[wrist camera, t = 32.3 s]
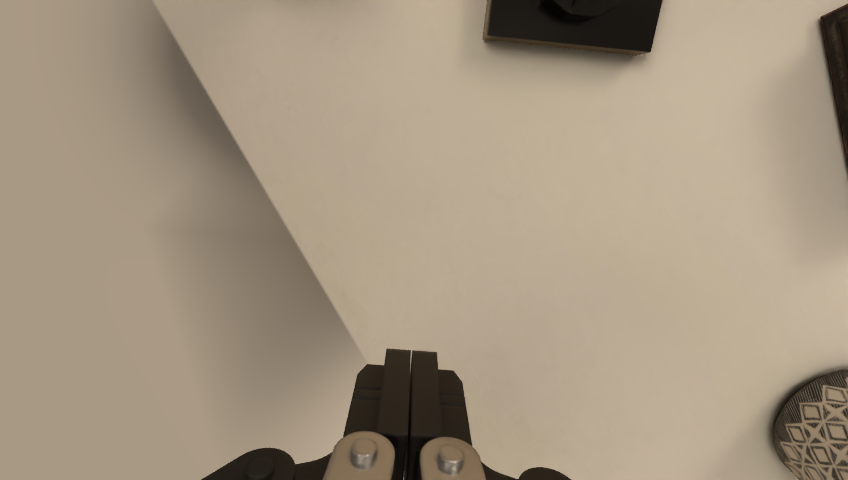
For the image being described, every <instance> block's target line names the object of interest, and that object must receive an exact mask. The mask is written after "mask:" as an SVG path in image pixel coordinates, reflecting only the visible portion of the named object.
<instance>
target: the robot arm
mask: <svg viewBox="0 0 848 480" xmlns="http://www.w3.org/2000/svg"><path fill="white" fill-rule="evenodd" d="M410 355H411V350H400V349H387V350H386V357H385V364H384V365H371V364H367V365H366V366H365V367H364V368H363V369H362V370H361V371H360V372H359V373H358V375H357V379H356V383H355V389H354V392H353V397H352V401H351V405H350V409H349V414H348V418H347V422H346V427H345V431H344V435H343V438H342V439H341V440H339V441H338V443H337V444H336V445H335V447H334V449H333V452H332V453H330V454H329V455H327V456H325V457H323V458H321V459H318V460H315V461H311V462H306V463H301V464H295V463H294V460H293V459H292V457H291V456H290V455H289V454H287V453H286V452H284V451H282V450H279V449H275V448H261V449H256V450H253V451H250V452H247V453H245V454H243V455H242V456H240V457H238V458H237V459H235V460H233V461H232V462H230V463H228V464H227V465H225V466H223V467H222V468H220V469H218V470H217V471H215V472H213V473H212V474H210V475H208V476H207V477H205V478H203V479H202V480H403V477H404V480H571V479H570V478H568V477H567V476H565V475H564V474H562V473H560V472H558V471H555V470H553V469H549V468H543V467H536V468H531V469H528V470H526V471H524V472H523V473H522V474H521V475H520V477H519V479H515V478H512V477H509V476H506V475H503V474H500V473H498V472H496V471H494V470H492V469H490V468H489V467H487V466H486V465H485V464H483V463H482V462H481V459H480V456H479V454H478V453H477V451H476V450H475V449H474V448H473V447H472V442H471V435H470V429H469V423H468V416H467V410H466V404H465V397H464V391H463V384H462V381H461V380H460V379H459V377H458V376H457V375H456V373H455V372H454V371H451V370H438V362H437V352H427V351H414V350H413V351H412V360H411V370H410Z"/></svg>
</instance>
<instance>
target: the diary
mask: <svg viewBox="0 0 848 480" xmlns="http://www.w3.org/2000/svg"><path fill="white" fill-rule="evenodd" d="M820 18H821V23H822V29H823V34H824V39H825V44H826V50H827V55H828V60H829V65H830V70H831V76H832V81H833V86H834V91H835V97H836V102H837V107H838V112H839V118H840V123H841V128H842V133H843V138H844V144H845V149H846V154H847V159H848V4H846V5H844V6H842V7H840V8H838V9H836V10H834V11H832V12H830V13H828V14H826V15H823V16H821V17H820Z"/></svg>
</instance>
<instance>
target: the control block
mask: <svg viewBox="0 0 848 480" xmlns="http://www.w3.org/2000/svg"><path fill="white" fill-rule="evenodd" d="M661 4H662V0H487V6H486V15H485V23H484V31H483V40H491V41H501V42H511V43H520V44H530V45H539V46H549V47H559V48H568V49H578V50H587V51H597V52H607V53H616V54H626V55H635V56H636V55H641V54H645V53H649V52H651V48H652V44H653V39H654V35H655V30H656V26H657V21H658V17H659V13H660V8H661Z"/></svg>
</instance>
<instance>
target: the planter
mask: <svg viewBox="0 0 848 480" xmlns="http://www.w3.org/2000/svg"><path fill="white" fill-rule="evenodd" d="M773 439H774V446H775V450H776V452H777V454H778V456H779V458H780V459H781V461H782V462H783V463H784V464H785V466H786V467H787V468H789V469H790V470H791V471H792V472H793V473H794V474H795V475H796V476H797V477H798V478H799V479H800V480H848V370H842V371H837V372H833V373H830V374H827V375H825V376H822V377H820V378H818V379H816V380H814V381H812V382H810V383H809V384H807V385H806V386H804V387H803V388H802V389H800V390H799V391H798V392H797V393H796V394H795V395H794V396H792V397H791V399H790V400H789V401H788V402H787V403H786V405H785V406H784V407H783V409H782V410H781V412H780V414H779V416H778V418H777V421H776V424H775V428H774V435H773Z"/></svg>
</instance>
